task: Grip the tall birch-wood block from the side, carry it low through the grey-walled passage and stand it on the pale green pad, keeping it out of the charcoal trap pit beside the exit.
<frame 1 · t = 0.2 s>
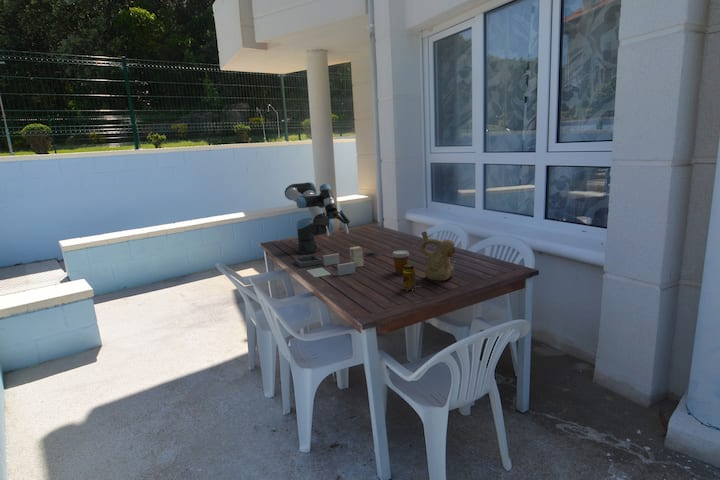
hand: (338, 234, 279), 16 cm above the table, tool tilted 35°, fingers open, 13 cm apart
trap pit: (308, 263, 272), on the table
disposable coffee cup: (401, 272, 243), on the table
ceramic vessel: (438, 277, 231), on the table
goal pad: (318, 272, 252), on the table
birch block: (357, 265, 262), on the table
walled passage: (338, 268, 257), on the table
condiment: (410, 288, 217), on the table
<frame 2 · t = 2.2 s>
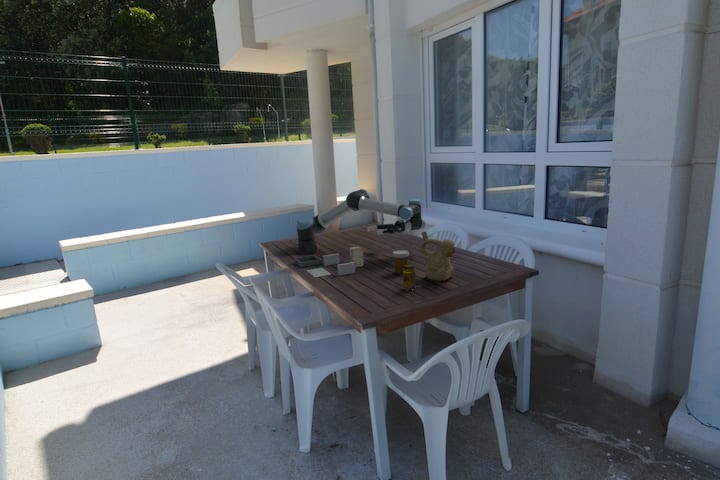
hand: (372, 230, 262), 20 cm above the table, tool horizontal, fingers open, 13 cm apart
nothing on the table moved.
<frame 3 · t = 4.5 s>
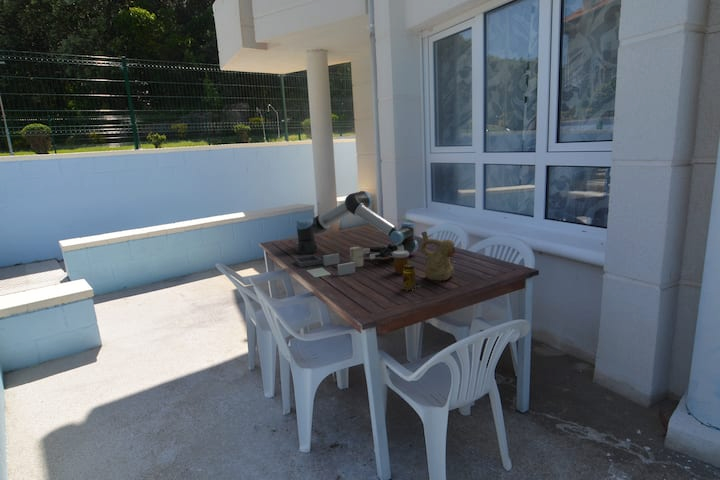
hand: (364, 254, 262), 6 cm above the table, tool horizontal, fingers open, 13 cm apart
nothing on the table moved.
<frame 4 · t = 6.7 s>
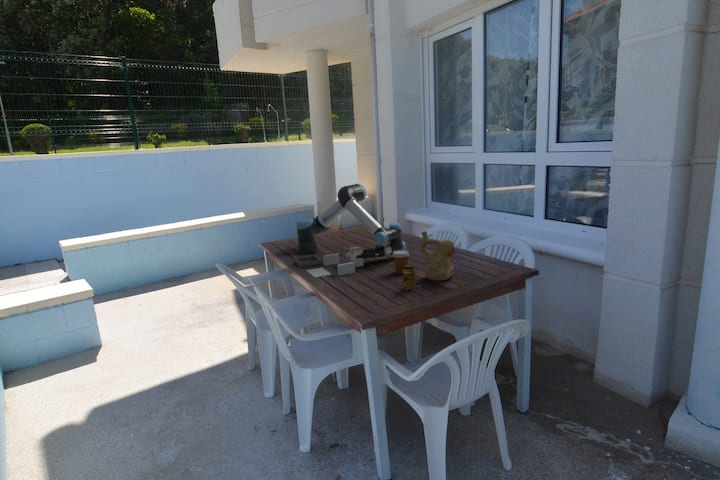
hand: (348, 256, 259), 7 cm above the table, tool horizontal, fingers closed on birch block, 6 cm apart
birch block: (357, 265, 262), on the table, touching gripper
everything else where it was.
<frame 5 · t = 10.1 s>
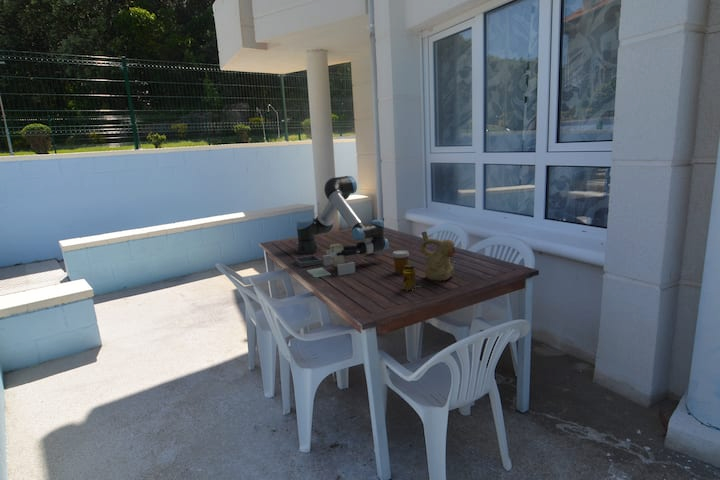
hand: (329, 253, 251), 11 cm above the table, tool horizontal, fingers closed on birch block, 6 cm apart
birch block: (337, 262, 254), point 4 cm above the table, touching gripper
everything else where it was.
when the fingers open (7 cm above the table, at t = 13.7 s): birch block stays where it is, resting on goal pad.
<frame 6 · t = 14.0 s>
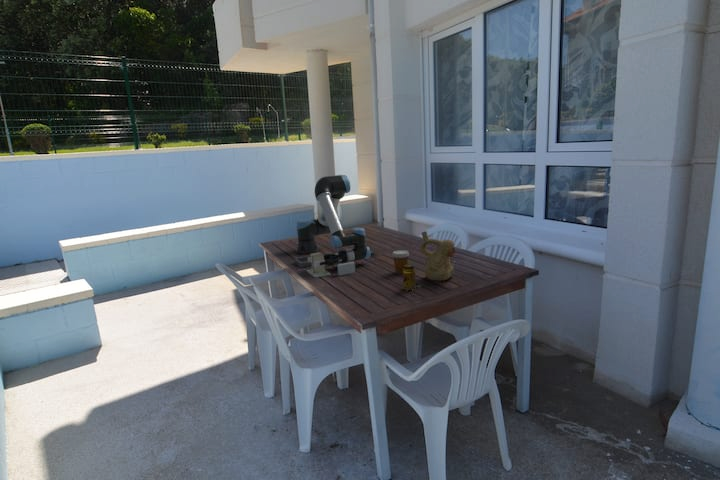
hand: (310, 262, 249), 7 cm above the table, tool horizontal, fingers open, 10 cm apart
birch block: (318, 272, 252), resting on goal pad
everything else where it was.
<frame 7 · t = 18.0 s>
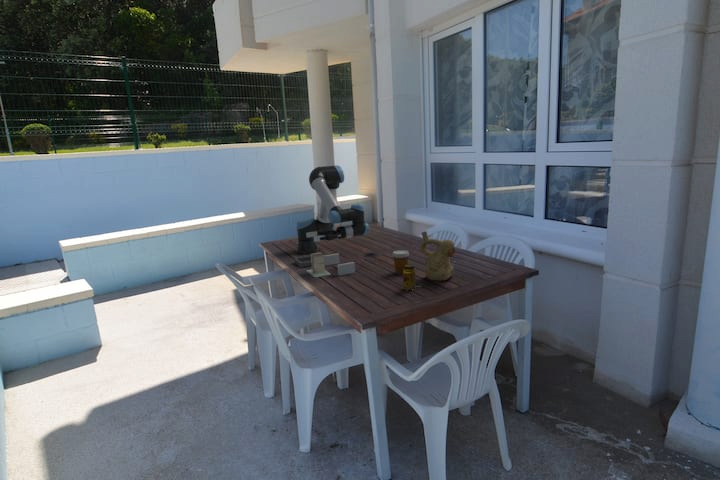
hand: (310, 237, 246), 22 cm above the table, tool horizontal, fingers open, 13 cm apart
nothing on the table moved.
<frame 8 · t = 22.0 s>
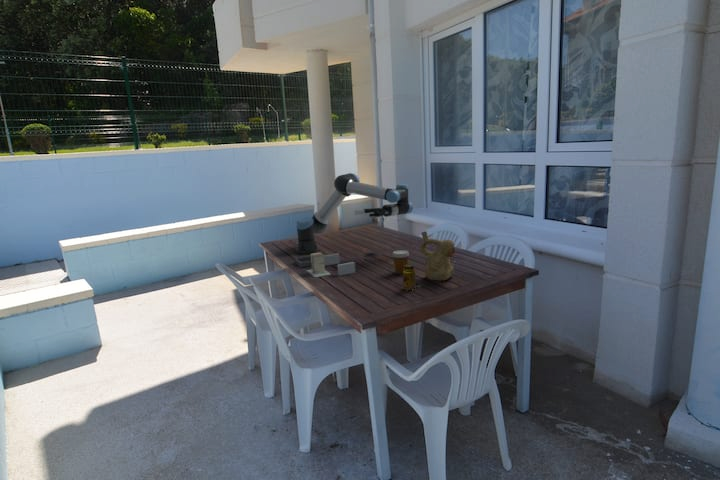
hand: (359, 214, 264), 30 cm above the table, tool horizontal, fingers open, 13 cm apart
nothing on the table moved.
at the end: birch block inside the target area (0.0 cm from its centre), resting on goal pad; birch block tilted 0°; birch block touching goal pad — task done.
